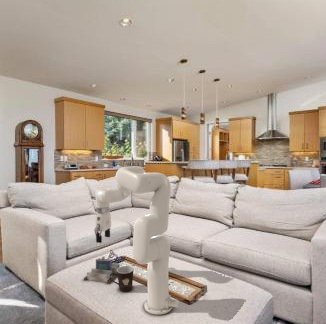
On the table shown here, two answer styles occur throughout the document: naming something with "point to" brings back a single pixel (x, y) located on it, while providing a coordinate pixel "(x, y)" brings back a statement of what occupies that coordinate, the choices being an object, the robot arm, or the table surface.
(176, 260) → the table surface
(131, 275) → the coffee mug
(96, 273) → the drying rack
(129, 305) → the table surface
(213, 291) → the table surface
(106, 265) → the flask
